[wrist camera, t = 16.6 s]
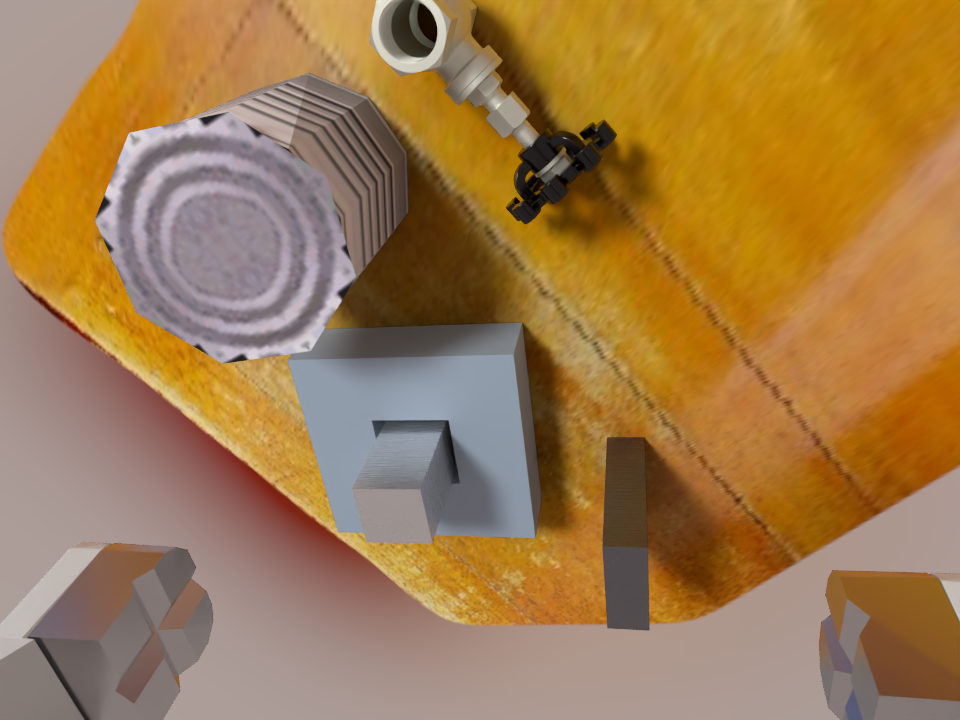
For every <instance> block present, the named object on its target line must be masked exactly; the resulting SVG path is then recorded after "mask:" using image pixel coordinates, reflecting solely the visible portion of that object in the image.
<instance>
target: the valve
mask: <svg viewBox="0 0 960 720" xmlns="http://www.w3.org/2000/svg"><path fill="white" fill-rule="evenodd" d="M420 3H421V4H423V5H424V6H426V7H427V8H428V9H429V10H430V12H431V13H432V15H433V16H434V18H435V21H436V24H437V31H438V33H437V41H436V43H434V42H432V41H430V40H429V39H428V38H426V37H425V36H424V34H423V33H422V31H421V30H420V27H419V24H418V18H417V13H418V8H419V5H420ZM476 12H477V6H476V5H475V4H474V2H473V1H472V0H377V1H376V6H375V10H374V15H373V20H372V27H371V34H370V44H371V45H372V46H373V48H374V49H375V50H376V51H377V52H378V54H379V55H380V56H381V57H382V58H383V59H384V60H385V61H386V62H387V63H388V64H389V65H390V66H391V68H392V69H394V70H395V71H396V72H397V73H398V74H399V75H400V76H404V75H408V74H413V73H417V72H421V71H422V72H436V73H438V74H439V75H440V76H441V77H442V78H443V80H444V81H445V82H446V83H447V87H446V89H445V92H446V93H447V94H448V95H449V97H450V98H451V99H452V100H453V101H454V102H455V103H456V104H457V105H458V106H459V105H460V104H461V103H462V102H463V101H464V100H465V99H468V100H469V101H470V102H471V103H472V104H473V105H474V107H478V106H480V105H483V106H484V107H485V108H486V109H487V110H488V111H489V112H490V114H489V115H488V116H487V118H486V120H487V121H488V122H489V123H490V124H491V125H492V126H493V128H494V129H495V130H496V131H497V132H498V133H499V134H500V135H501V136H502V138H506V137H507V136H509V135H510V134H512V135H513V136H514V138H515V139H516V140H517V141H518V142H519V143H520V144H521V145H522V146H523V148H522V150H521V151H520V152H519V154H518V157H519V158H520V160H521V161H522V163H521V164H520V165H519V166H518V167H517V169H516V171H515V174H514V185H515V189H516V191H517V193H518V194H519V195H520V196H521V197H522V198H523V201H522V202H520V201H519V200H518V199H517V198H516V197H515V198H514V199H512V200H511V202H510V203H509V204H508V205H507V206H506V209H507V210H508V211H509V212H510V213H511V214H512V215H513V217H514V218H515V219H516V220H517V221H522V222H523V223H524V224H528V223H529V222H531V221H532V220H533V219H534V218H535V217H536V216H537V215H538V214H539V213H540V211H541V207H542V206H543V205H545V204H546V203H547V202H548V201H550V202H551V203H552V204H556V203H557V202H559V201H560V200H561V199H562V198H563V197H565V195H566V194H567V193H568V192H569V190H570V187H569V184H570V183H571V182H572V181H573V180H574V179H575V178H576V177H577V176H578V175H579V174H581V173H582V172H583V171H584V172H588V171H590V170H591V169H593V168H594V167H595V166H596V165H597V164H598V163H599V162H600V161H601V159H602V157H603V156H602V154H601V153H600V152H599V150H603V149H604V148H606V147H607V146H608V145H609V144H611V143H612V142H613V140H614V139H615V138H616V136H617V134H616V132H615V131H614V130H613V129H612V128H611V126H610V125H609V124H608V123H607V122H606V121H605V120H602V121H601V122H599V123H598V124H597V125H595V123H593V122H592V123H590V124H589V125H588V126H586V127H585V128H584V129H583V130H582V131H581V132H580V135H581V136H582V138H583V139H584V140H581V139H580V138H579V137H577V136H576V135H574V134H572V133H570V132H566V131H559V132H556V133H554V134H552V133H551V131H550V130H549V129H548V128H544V129H543V130H541V131H540V132H539V133H538V132H537V131H536V130H535V129H534V128H533V127H532V126H531V124H530V123H529V122H528V121H527V120H526V118H527V117H528V116H529V114H530V110H529V109H528V108H527V107H526V106H525V104H524V103H523V102H522V101H521V100H520V99H519V98H518V96H517V95H516V94H515V93H514V92H513V91H512V92H511V93H510V94H509V95H508V96H507V95H506V94H505V92H504V91H503V90H502V89H501V83H502V81H503V79H502V78H501V77H500V76H499V75H498V74H497V73H496V71H495V69H496V68H497V67H498V66H499V65H500V64H501V63H502V59H501V58H500V57H499V56H498V55H497V53H496V52H495V51H494V50H493V49H492V48H491V47H490V45H487V46H486V47H485V48H482V47H481V46H480V45H479V44H478V43H477V42H476V40H475V39H474V38H473V37H472V34H471V32H472V28H473V24H474V20H475V16H476ZM529 171H531V172H532V173H533V175H532V176H531V177H529V178H528V179H527V180H526V181H525V177H526V175H527V173H528V172H529Z"/></svg>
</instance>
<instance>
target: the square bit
mask: <svg viewBox="0 0 960 720" xmlns="http://www.w3.org/2000/svg"><path fill="white" fill-rule="evenodd" d="M456 469H457V464H456V458H455V453H454V447H453V441H452V436H451V430H450V425H449V420H386V421H385V423H384V425H383V427H382V429H381V431H380V433H379V435H378V437H377V439H376V441H375V443H374V445H373V447H372V449H371V451H370V453H369V455H368V457H367V459H366V461H365V463H364V465H363V467H362V469H361V471H360V473H359V475H358V477H357V479H356V481H355V483H354V485H353V487H352V492H353V495H354V499H355V502H356V506H357V509H358V513H359V516H360V520H361V523H362V527H363V530H364V534H365V537H366V541H367V542H385V543H424V544H433V540H434V537H435V534H436V531H437V528H438V525H439V522H440V519H441V516H442V512H443V509H444V506H445V503H446V500H447V497H448V494H449V491H450V488H451V484H452V481H453V478H454V475H455V472H456Z"/></svg>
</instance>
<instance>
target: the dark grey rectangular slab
mask: <svg viewBox="0 0 960 720" xmlns="http://www.w3.org/2000/svg"><path fill="white" fill-rule="evenodd" d="M603 562H604V578H605V595H606V612H607V627H608V628H614V629H633V630H649V582H648V537H647V506H646V474H645V443H644V437H607V452H606V476H605V500H604V524H603Z"/></svg>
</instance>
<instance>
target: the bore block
mask: <svg viewBox="0 0 960 720" xmlns="http://www.w3.org/2000/svg"><path fill="white" fill-rule="evenodd" d="M287 361H288V364H289V367H290V371H291V374H292V378H293V381H294V384H295V388H296V391H297V394H298V398H299V401H300V405H301V408H302V411H303V415H304V418H305V422H306V425H307V428H308V432H309V435H310V438H311V442H312V445H313V449H314V452H315V455H316V459H317V462H318V466H319V469H320V472H321V476H322V479H323V482H324V486H325V489H326V493H327V496H328V499H329V503H330V506H331V510H332V513H333V516H334V520H335V523H336V526H337V530H338V532H354V533H364V530H363V527H362V523H361V520H360V516H359V513H358V509H357V506H356V502H355V499H354V495H353V492H352V487H353V485H354V483H355V481H356V479H357V477H358V475H359V473H360V471H361V469H362V467H363V465H364V463H365V461H366V459H367V457H368V455H369V453H370V451H371V449H372V447H373V445H374V443H375V441H376V439H377V437H378V435H379V433H380V431H381V429H382V427H383V425H384V423H385V421H386V420H449V425H450V430H451V436H452V441H453V447H454V453H455V458H456V464H457V469H456V472H455V475H454V478H453V481H452V484H451V488H450V491H449V494H448V497H447V500H446V503H445V506H444V509H443V512H442V516H441V519H440V522H439V525H438V528H437V531H436V534H435V535H454V536H488V537H521V538H536V531H537V525H538V518H539V512H540V505H541V499H542V497H541V488H540V479H539V470H538V461H537V452H536V443H535V434H534V425H533V415H532V406H531V397H530V388H529V379H528V370H527V361H526V352H525V343H524V334H523V325H522V322H519V323H490V324H461V325H432V326H403V327H374V328H345V329H324V330H323V332H322V333H321V335H320V337H319V338H318V340H317V341H316V343H315V345H314V346H313V348H312V350H311V351H307V352H300V353H293V354H292V355H291V356H290V357H289V359H288V360H287Z"/></svg>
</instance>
